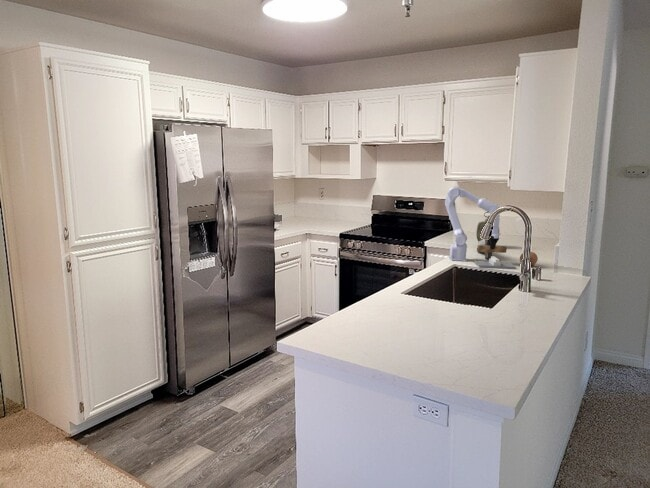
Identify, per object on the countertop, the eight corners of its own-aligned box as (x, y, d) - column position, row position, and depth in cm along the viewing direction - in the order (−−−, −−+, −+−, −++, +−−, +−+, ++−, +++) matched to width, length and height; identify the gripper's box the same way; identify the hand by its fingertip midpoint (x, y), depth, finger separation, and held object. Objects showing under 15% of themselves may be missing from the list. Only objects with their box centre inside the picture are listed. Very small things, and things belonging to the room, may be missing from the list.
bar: (478, 251, 278) (478, 246, 277) (477, 250, 281) (477, 245, 280) (506, 252, 277) (506, 246, 276) (504, 251, 280) (505, 246, 279)
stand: (479, 267, 266) (479, 259, 265) (474, 262, 277) (474, 255, 277) (515, 269, 264) (516, 261, 263) (509, 264, 276) (509, 256, 275)
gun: (483, 261, 312) (484, 239, 314) (494, 258, 285) (494, 233, 287) (475, 261, 313) (476, 238, 314) (485, 257, 286) (486, 233, 287)
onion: (521, 269, 277) (516, 253, 279) (538, 266, 275) (533, 250, 277) (523, 267, 268) (519, 250, 270) (541, 263, 266) (536, 246, 268)
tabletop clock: (475, 247, 329) (478, 211, 325) (475, 245, 338) (477, 210, 333) (497, 248, 326) (501, 212, 321) (496, 246, 334) (499, 211, 330)
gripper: (504, 227, 268) (502, 251, 271) (497, 224, 283) (495, 246, 285) (491, 227, 269) (489, 250, 271) (485, 223, 283) (483, 246, 286)
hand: (491, 248), depth 278 cm, fingers closed on bar, 3 cm apart
